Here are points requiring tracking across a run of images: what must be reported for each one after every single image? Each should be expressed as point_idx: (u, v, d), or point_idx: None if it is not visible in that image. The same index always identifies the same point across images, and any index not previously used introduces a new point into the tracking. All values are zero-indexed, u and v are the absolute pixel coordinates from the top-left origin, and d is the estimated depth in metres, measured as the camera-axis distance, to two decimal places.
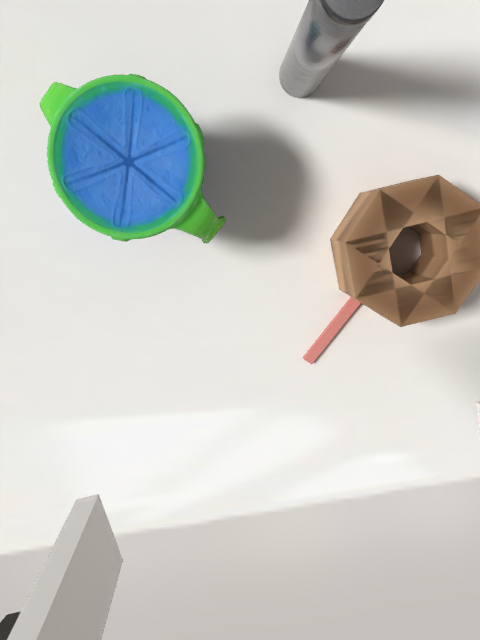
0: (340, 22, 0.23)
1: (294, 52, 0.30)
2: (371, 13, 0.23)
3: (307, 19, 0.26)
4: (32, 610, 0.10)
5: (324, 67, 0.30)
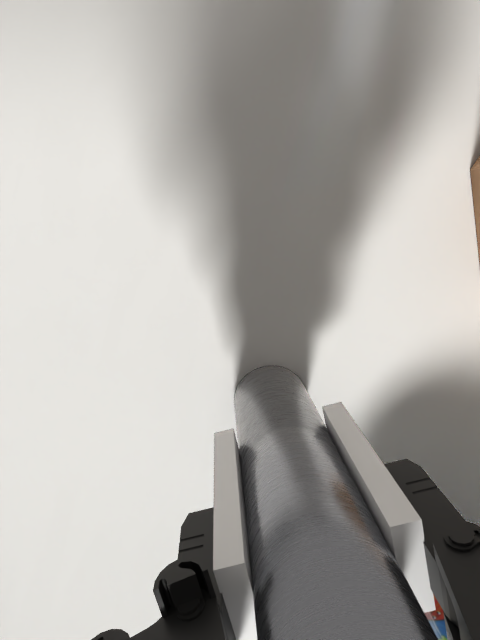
0: None
1: None
2: None
3: None
4: (224, 502, 0.12)
5: None
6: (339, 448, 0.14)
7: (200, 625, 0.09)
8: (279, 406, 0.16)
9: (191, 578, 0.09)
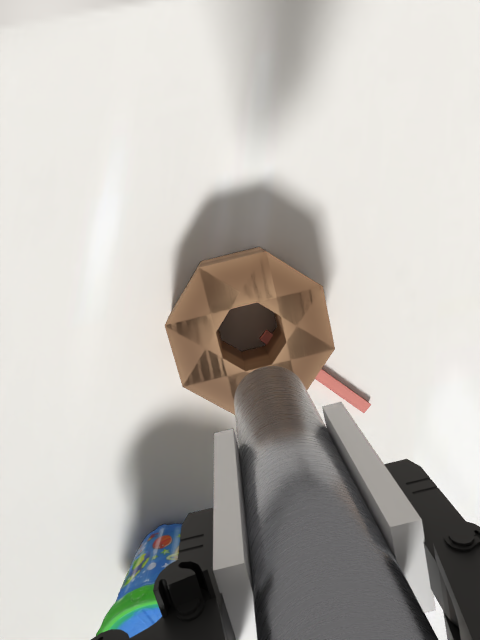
0: None
1: None
2: None
3: None
4: (223, 502, 0.12)
5: None
6: (339, 448, 0.14)
7: (200, 625, 0.09)
8: (280, 406, 0.16)
9: (191, 578, 0.09)
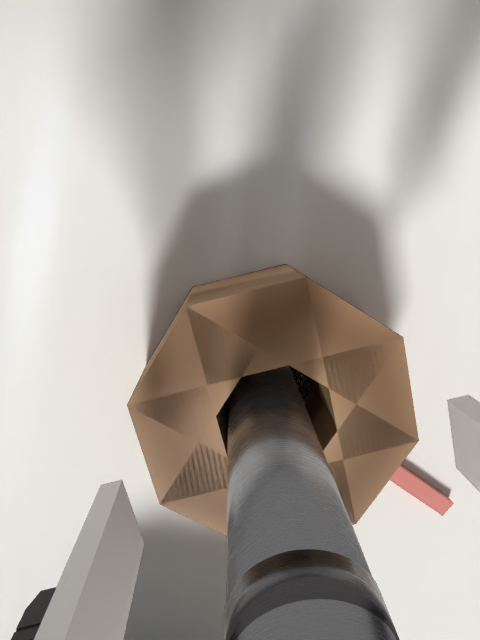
0: None
1: None
2: (394, 635, 0.08)
3: None
4: (68, 584, 0.10)
5: None
6: None
7: None
8: (263, 384, 0.18)
9: None
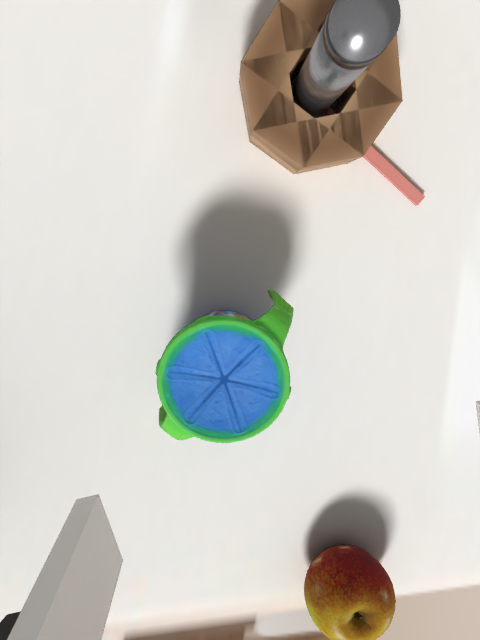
0: None
1: (331, 100, 0.32)
2: None
3: (346, 81, 0.27)
4: (32, 610, 0.10)
5: None
6: None
7: None
8: None
9: None
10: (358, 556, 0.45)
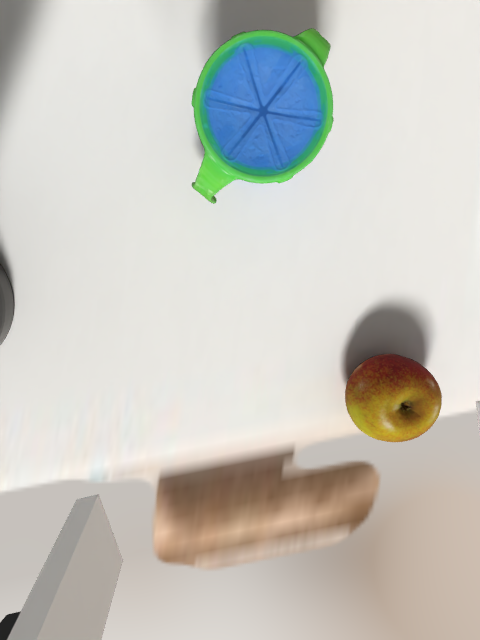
0: None
1: None
2: None
3: None
4: (32, 610, 0.10)
5: None
6: None
7: None
8: None
9: None
10: (400, 356, 0.44)
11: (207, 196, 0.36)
